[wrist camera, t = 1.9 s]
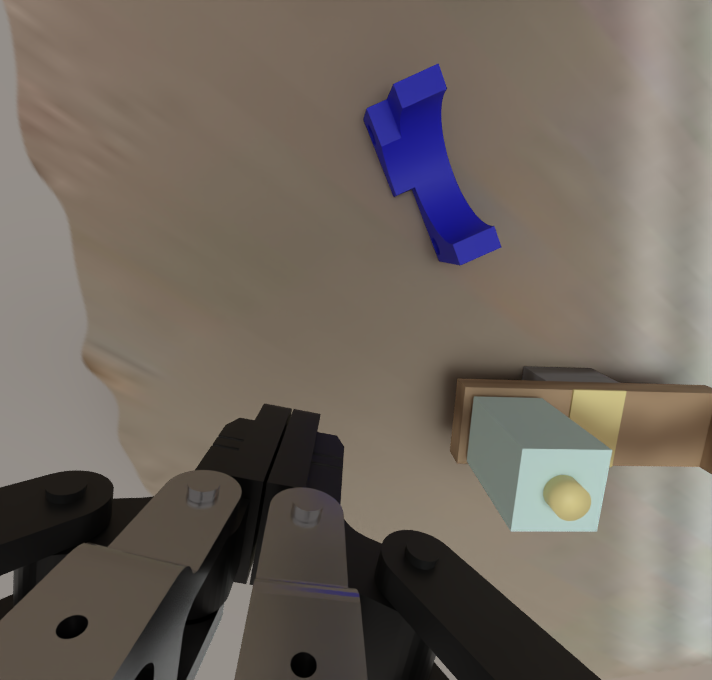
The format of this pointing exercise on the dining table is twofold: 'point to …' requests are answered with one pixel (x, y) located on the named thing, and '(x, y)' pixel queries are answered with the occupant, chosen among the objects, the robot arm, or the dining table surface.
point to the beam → (607, 414)
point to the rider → (537, 464)
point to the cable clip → (427, 166)
